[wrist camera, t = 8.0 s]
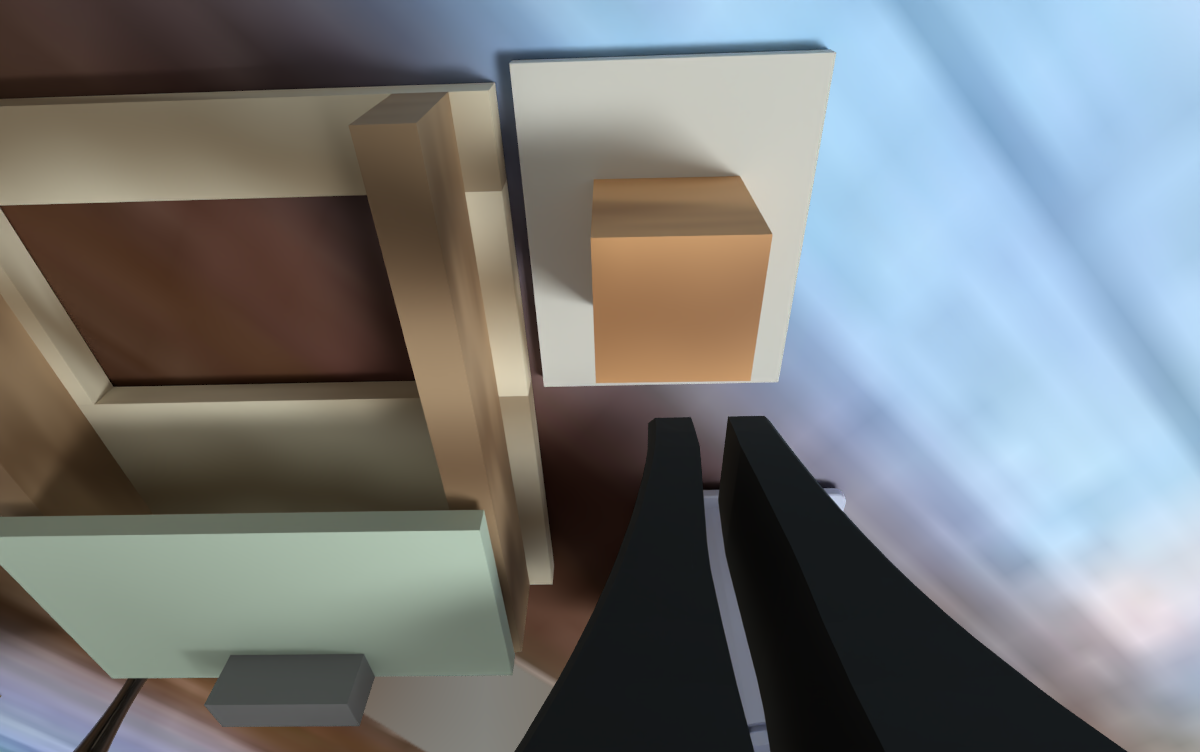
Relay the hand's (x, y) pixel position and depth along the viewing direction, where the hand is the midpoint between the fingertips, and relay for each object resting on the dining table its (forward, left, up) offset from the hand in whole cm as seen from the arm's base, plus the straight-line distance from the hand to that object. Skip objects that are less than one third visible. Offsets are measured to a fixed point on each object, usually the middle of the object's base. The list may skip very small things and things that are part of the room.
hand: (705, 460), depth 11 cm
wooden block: (0, 0, -9) cm, 9 cm away
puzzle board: (-6, +14, -9) cm, 17 cm away
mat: (0, 0, -9) cm, 9 cm away
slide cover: (-11, +13, -5) cm, 18 cm away
